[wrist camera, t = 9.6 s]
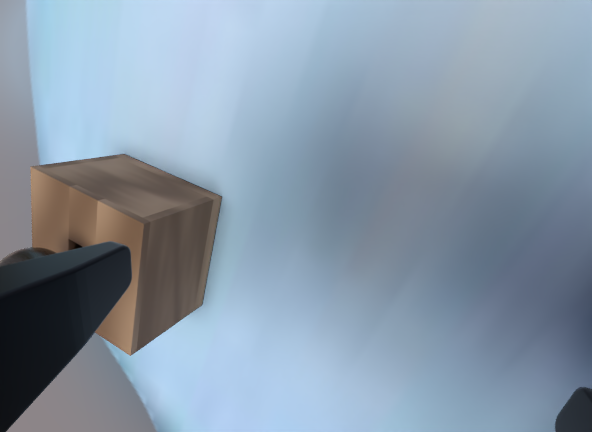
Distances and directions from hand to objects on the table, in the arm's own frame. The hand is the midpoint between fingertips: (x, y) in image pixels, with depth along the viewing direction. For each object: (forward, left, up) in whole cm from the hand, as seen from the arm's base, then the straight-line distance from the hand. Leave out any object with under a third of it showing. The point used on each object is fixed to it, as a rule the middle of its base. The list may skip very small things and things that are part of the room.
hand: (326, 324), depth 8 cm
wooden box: (+9, +13, -12) cm, 20 cm away
